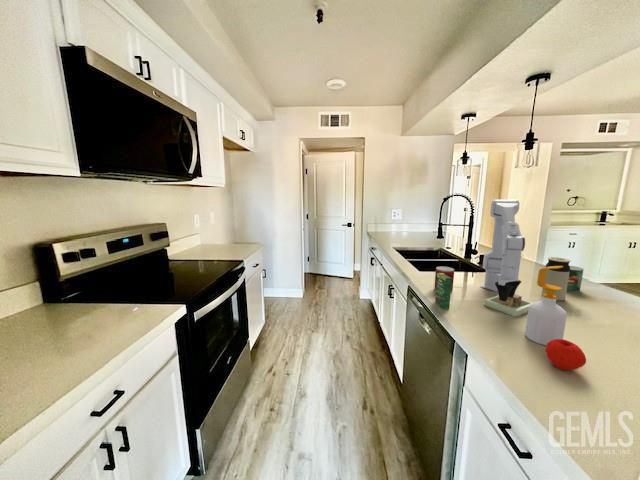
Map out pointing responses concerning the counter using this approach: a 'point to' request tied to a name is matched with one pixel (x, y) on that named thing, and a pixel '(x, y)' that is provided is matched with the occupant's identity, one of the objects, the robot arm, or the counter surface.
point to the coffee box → (443, 290)
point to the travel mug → (557, 276)
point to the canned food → (446, 271)
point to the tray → (508, 310)
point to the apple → (565, 354)
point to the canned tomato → (574, 279)
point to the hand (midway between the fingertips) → (506, 298)
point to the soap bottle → (546, 314)
